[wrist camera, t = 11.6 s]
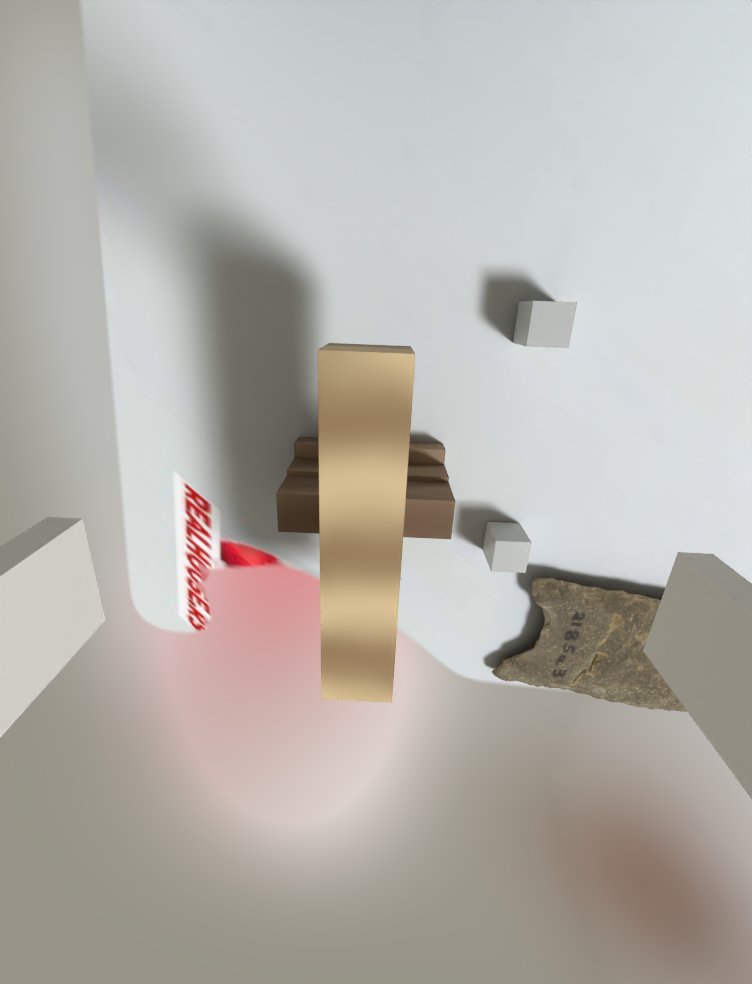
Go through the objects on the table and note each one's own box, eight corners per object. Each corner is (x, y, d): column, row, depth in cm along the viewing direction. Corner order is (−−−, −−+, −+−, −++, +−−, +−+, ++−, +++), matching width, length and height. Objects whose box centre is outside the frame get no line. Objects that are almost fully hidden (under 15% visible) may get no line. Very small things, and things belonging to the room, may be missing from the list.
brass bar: (329, 343, 22) (317, 350, 18) (410, 346, 22) (415, 354, 18) (329, 649, 29) (321, 699, 26) (391, 652, 29) (391, 702, 26)
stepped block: (298, 437, 31) (275, 471, 25) (442, 443, 31) (457, 479, 25) (300, 503, 33) (279, 551, 27) (436, 509, 33) (448, 558, 26)
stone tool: (486, 670, 39) (754, 714, 40) (493, 696, 36) (780, 742, 38) (525, 562, 35) (822, 616, 36) (536, 583, 32) (857, 640, 34)
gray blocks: (518, 301, 28) (533, 300, 25) (557, 303, 28) (576, 302, 25) (482, 550, 34) (491, 571, 31) (514, 551, 34) (525, 572, 31)
